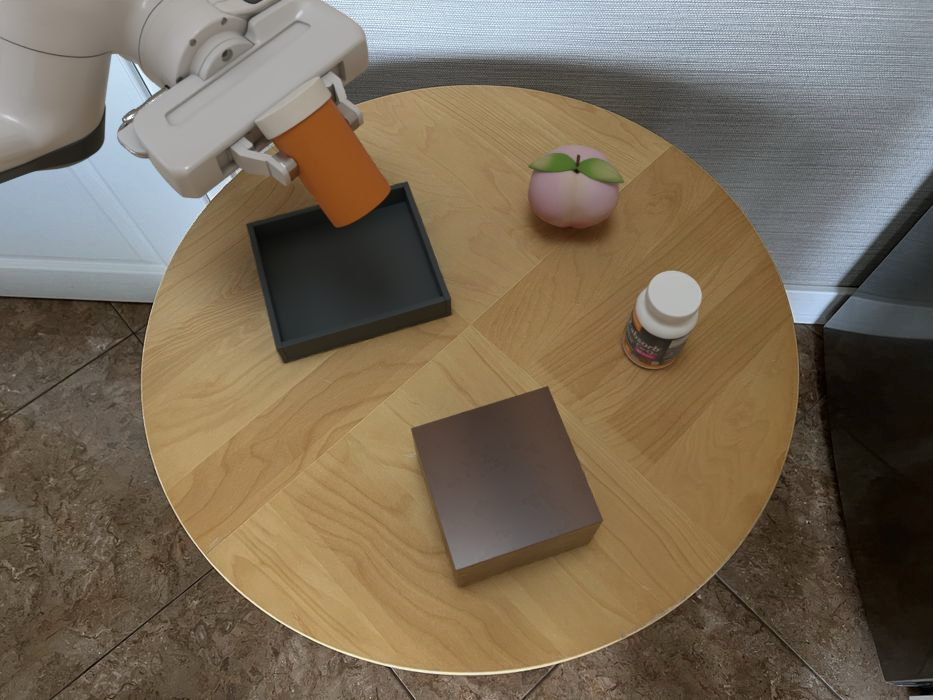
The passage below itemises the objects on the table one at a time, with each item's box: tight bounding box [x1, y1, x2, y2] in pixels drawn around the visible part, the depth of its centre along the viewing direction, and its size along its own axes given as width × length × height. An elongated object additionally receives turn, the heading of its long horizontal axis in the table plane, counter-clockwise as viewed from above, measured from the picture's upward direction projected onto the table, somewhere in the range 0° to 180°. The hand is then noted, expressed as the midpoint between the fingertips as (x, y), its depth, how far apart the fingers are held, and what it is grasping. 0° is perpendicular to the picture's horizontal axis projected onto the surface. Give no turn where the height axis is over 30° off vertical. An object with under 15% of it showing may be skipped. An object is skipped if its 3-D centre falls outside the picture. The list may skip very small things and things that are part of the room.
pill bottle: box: [621, 270, 703, 370], centre depth 69 cm, size 6×6×10 cm
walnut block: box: [410, 385, 604, 589], centre depth 63 cm, size 12×12×8 cm
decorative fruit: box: [527, 144, 625, 229], centre depth 76 cm, size 9×8×10 cm
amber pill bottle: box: [255, 76, 391, 227], centre depth 59 cm, size 6×6×10 cm
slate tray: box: [245, 180, 453, 364], centre depth 76 cm, size 17×15×3 cm
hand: (325, 148), depth 59 cm, fingers closed on amber pill bottle, 5 cm apart
